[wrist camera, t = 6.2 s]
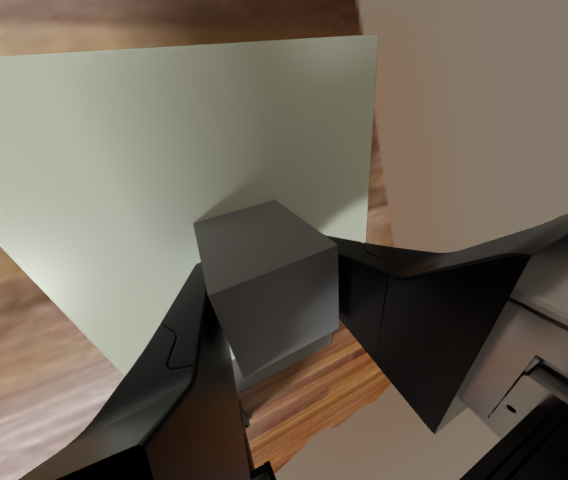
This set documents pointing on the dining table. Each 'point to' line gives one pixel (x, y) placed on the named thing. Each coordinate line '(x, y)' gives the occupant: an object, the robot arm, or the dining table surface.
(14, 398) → the dining table surface
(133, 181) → the lid
